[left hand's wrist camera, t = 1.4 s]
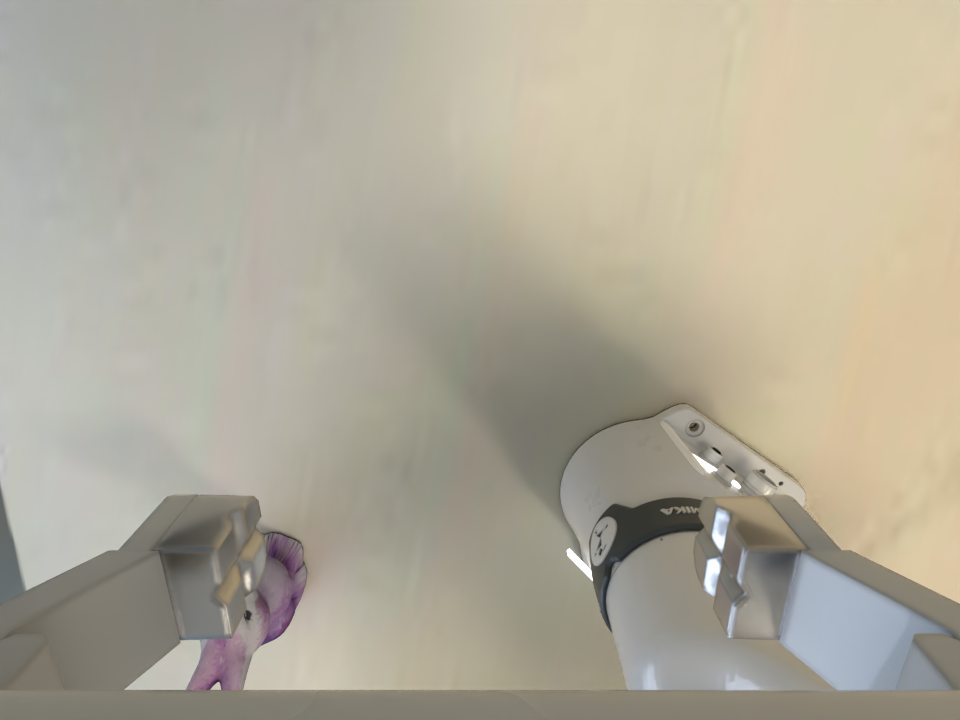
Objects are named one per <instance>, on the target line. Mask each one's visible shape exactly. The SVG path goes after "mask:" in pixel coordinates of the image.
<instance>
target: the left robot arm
mask: <svg viewBox="0 0 960 720" xmlns="http://www.w3.org/2000/svg"><path fill="white" fill-rule="evenodd" d="M692 423H697V424H696V426H695V427H694V428H689V426H690V425H691V424H692ZM560 499H561V506H562V509H563V513H564V515H565V517H566V519H567V521H568V523H569V525H570V526H571V528H572V529H573V531H574V533H575V535H576V536H577V538H578V541H579V543H580V549H581V555H582V559H583V561H584V563H583V562H582V561H581V560H580V559H579V558H578V557H577V556H576V555H575V554H574V553H573V552H572V551H571V550H570V549H568V550H567V554H568V556H569V557H570V558H571V559H572V560H573V561H574V562H575V564H576V565H577V566H578V567H579V568H580V569H581V570H582V571H583V572H584V573H585V574H586V575H587V576H588V577H589V578H590V579H591V580H592V581H593V584H594V588H595V592H596V595H597V599H598V602H599V608H600V612H601V613H602V616H603V618H604V621H605V623H606V625H607V626H608V628H609V629H610V631H611V632H612V633H613V637H614V641H615V645H616V649H617V652H618V656H619V660H620V664H621V668H622V672H623V676H624V679H625V683H626V687H627V690H124V689H125V688H126V687H128V686H129V685H130V684H131V683H132V682H134V681H135V680H136V679H137V678H138V677H140V676H141V675H142V674H143V673H145V672H146V671H147V670H148V669H149V668H151V667H152V666H153V665H154V664H155V663H157V662H158V661H159V660H160V659H161V658H163V657H164V656H165V655H166V654H167V653H169V652H170V651H171V650H172V649H174V648H175V647H176V646H177V645H178V644H180V640H203V639H232V637H233V635H234V633H235V631H236V629H237V627H238V625H239V623H240V621H241V619H242V617H243V615H244V613H245V611H246V609H247V606H246V600H245V597H246V596H248V595H249V594H251V593H252V592H254V591H255V590H256V589H257V588H258V585H259V583H260V581H261V579H262V577H263V573H264V568H265V564H266V542H265V536H264V535H263V534H262V533H261V532H260V531H259V530H258V529H257V528H256V527H255V526H256V524H257V523H258V521H259V519H260V518H261V511H260V506H259V501H258V500H257V499H256V498H255V497H254V496H235V495H172V496H168V497H166V498H165V499H164V500H163V502H162V503H161V504H160V505H159V506H158V507H157V508H156V509H155V510H154V511H153V513H152V514H151V515H150V516H149V517H148V518H147V519H146V520H145V521H144V522H143V524H142V525H141V526H140V527H139V528H138V529H137V530H136V531H135V532H134V533H133V535H132V536H131V537H130V538H129V539H128V540H127V541H126V542H125V543H124V544H123V546H122V547H121V548H120V549H119V550H117V551H107V552H105V553H103V554H101V555H99V556H97V557H95V558H93V559H91V560H89V561H87V562H85V563H82V564H80V565H78V566H76V567H74V568H72V569H70V570H68V571H66V572H64V573H62V574H60V575H58V576H56V577H54V578H52V579H50V580H48V581H46V582H44V583H42V584H40V585H37V586H35V587H33V588H31V589H29V590H27V591H25V592H23V593H21V594H19V595H17V596H15V597H13V598H11V599H9V600H7V601H5V602H3V603H1V604H0V720H960V604H959V603H957V602H955V601H953V600H951V599H949V598H947V597H944V596H942V595H940V594H938V593H936V592H934V591H932V590H930V589H928V588H926V587H924V586H922V585H920V584H918V583H916V582H914V581H912V580H910V579H908V578H906V577H904V576H902V575H900V574H898V573H896V572H893V571H891V570H889V569H887V568H885V567H883V566H881V565H879V564H877V563H875V562H873V561H871V560H869V559H867V558H865V557H863V556H861V555H859V554H857V553H855V552H853V551H842V550H841V549H840V548H839V547H838V546H837V545H836V544H835V543H834V541H833V540H832V539H831V538H830V537H829V536H828V535H827V534H826V533H825V532H824V530H823V529H822V528H821V527H820V526H819V525H818V524H817V523H816V522H815V521H814V519H813V518H812V517H811V516H810V515H809V514H808V513H807V512H806V511H805V510H804V506H805V491H804V489H803V487H802V486H801V485H800V484H799V483H798V482H797V481H796V480H795V479H793V478H792V477H791V476H789V475H788V474H786V473H785V472H784V471H782V470H781V469H779V468H778V467H777V466H775V465H774V464H772V463H771V462H769V461H768V460H767V459H765V458H764V457H762V456H761V455H760V454H758V453H757V452H755V451H754V450H752V449H751V448H750V447H748V446H747V445H745V444H744V443H743V442H741V441H740V440H738V439H737V438H736V437H734V436H733V435H731V434H730V433H728V432H727V431H726V430H724V429H723V428H721V427H720V426H719V425H717V424H716V423H714V422H713V421H711V420H710V419H709V418H707V417H706V416H704V415H703V414H702V413H700V412H699V411H697V410H696V409H695V408H693V407H692V406H690V405H687V404H679V405H675V406H673V407H671V408H669V409H667V410H665V411H663V412H661V413H659V414H657V415H656V416H654V417H651V418H647V419H642V420H635V421H629V422H624V423H620V424H617V425H614V426H611V427H609V428H606V429H604V430H602V431H600V432H599V433H597V434H595V435H594V436H592V437H591V438H590V439H588V440H587V441H586V442H585V443H584V444H583V445H581V447H580V448H579V449H578V450H577V451H576V452H575V453H574V455H573V456H572V457H571V459H570V461H569V462H568V464H567V466H566V468H565V471H564V474H563V477H562V481H561V487H560Z"/></svg>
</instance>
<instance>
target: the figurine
mask: <svg viewBox="0 0 960 720" xmlns="http://www.w3.org/2000/svg"><path fill="white" fill-rule="evenodd" d="M265 542H266V564H265V568H264V573H263V577H262V579H261V581H260V583H259V585H258V588H257V589H256V590H255V591H254V592H252V593H251V594H249V595H248V596H246V597H245V600H246V606H247V609H246V611H245V613H244V615H243V617H242V619H241V621H240V623H239V625H238V627H237V629H236V631H235V633H234V635H233V637H232V639H203V640H200V643H201V656H200V660H199V664H198V666H197V668H196V670H195V672H194V674H193V676H192V678H191V680H190V682H189V684H188V686H187V689H186V690H210V689H211V688H212V687H213V686H214V685H215V684H216V683H217V682H220V685H221V690H243V688H244V684H245V680H246V675H247V672H248V668H249V665H250V661H251V658H252V655H253V653H254V652H255V651H256V650H257V649H258V648H259V647H260V646H261V645H264V644H266V643H268V642H270V641H273V640H275V639H276V638H278V637H279V636H280V635H281V634H282V633H283V632H284V631H285V630H286V628H287V627H288V626H289V624H290V622H291V620H292V618H293V616H294V613H295V609H296V607H297V605H298V603H299V601H300V599H301V597H302V594H303V590H304V587H305V584H306V577H307V571H306V568H305V565H304V563H303V549H302V546H301V544H300V543H298V541H295V540H293V539H290V538H288V537H285V536H283V535H280V534H276V533H269V534H266V535H265Z"/></svg>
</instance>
